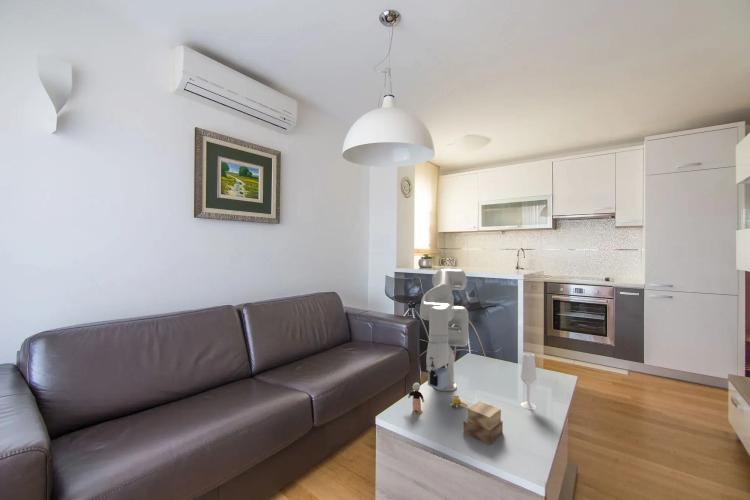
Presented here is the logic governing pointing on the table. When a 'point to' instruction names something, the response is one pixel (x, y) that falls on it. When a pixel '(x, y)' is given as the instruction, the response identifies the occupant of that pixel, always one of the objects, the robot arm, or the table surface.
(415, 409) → the grandmother figurine
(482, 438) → the tower bottom
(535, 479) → the table surface
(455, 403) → the character toy
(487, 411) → the tower top
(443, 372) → the blue cube
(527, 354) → the champagne flute
